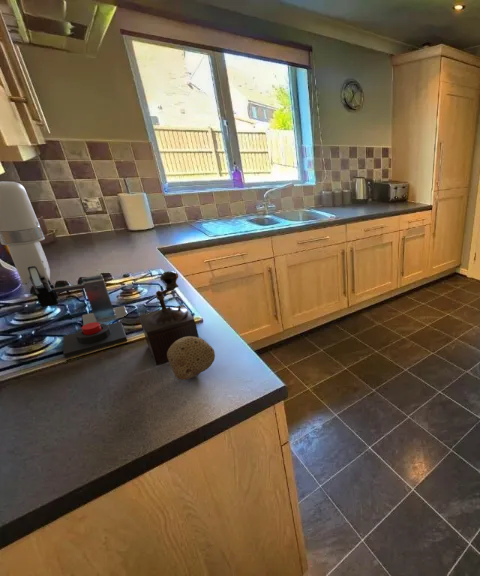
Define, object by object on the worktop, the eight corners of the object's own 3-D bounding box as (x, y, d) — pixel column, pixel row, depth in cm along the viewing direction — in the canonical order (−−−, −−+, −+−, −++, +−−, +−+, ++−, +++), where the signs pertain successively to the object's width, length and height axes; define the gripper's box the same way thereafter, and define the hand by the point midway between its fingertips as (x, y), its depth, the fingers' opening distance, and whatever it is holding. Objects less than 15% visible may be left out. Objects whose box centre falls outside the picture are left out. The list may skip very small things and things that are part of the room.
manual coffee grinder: (205, 349, 85) (192, 286, 78) (155, 366, 78) (135, 298, 71) (188, 325, 95) (175, 267, 88) (143, 338, 88) (124, 276, 81)
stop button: (84, 337, 81) (81, 330, 81) (83, 330, 84) (80, 325, 83) (102, 332, 84) (100, 326, 83) (101, 326, 86) (99, 320, 85)
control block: (66, 361, 78) (60, 347, 77) (66, 343, 85) (60, 329, 83) (128, 344, 86) (124, 330, 84) (123, 328, 92) (119, 315, 91)
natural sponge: (217, 359, 81) (210, 325, 77) (218, 381, 74) (211, 344, 70) (174, 368, 78) (165, 332, 73) (172, 392, 70) (161, 354, 66)
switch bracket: (85, 330, 91) (68, 288, 85) (83, 318, 96) (68, 278, 91) (129, 319, 97) (116, 279, 92) (125, 308, 102) (113, 270, 97)
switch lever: (37, 300, 84) (33, 289, 83) (38, 296, 86) (34, 285, 85) (102, 291, 92) (100, 280, 91) (101, 287, 95) (99, 276, 93)
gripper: (2, 230, 83) (32, 295, 90) (-6, 246, 72) (28, 319, 79) (43, 226, 87) (68, 288, 95) (41, 240, 76) (70, 310, 84)
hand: (50, 301), depth 87 cm, fingers closed on switch lever, 3 cm apart
